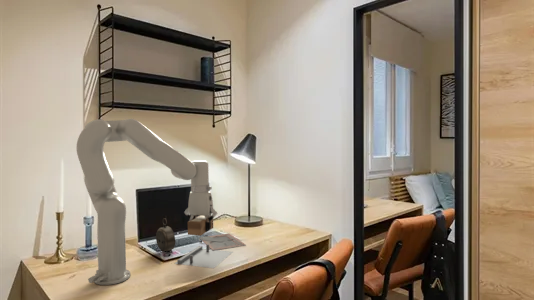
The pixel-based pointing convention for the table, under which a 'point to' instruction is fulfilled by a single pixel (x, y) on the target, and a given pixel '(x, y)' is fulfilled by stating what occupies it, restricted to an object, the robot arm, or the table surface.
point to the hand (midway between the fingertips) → (200, 229)
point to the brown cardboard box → (198, 226)
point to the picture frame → (221, 241)
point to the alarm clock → (165, 238)
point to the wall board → (203, 257)
